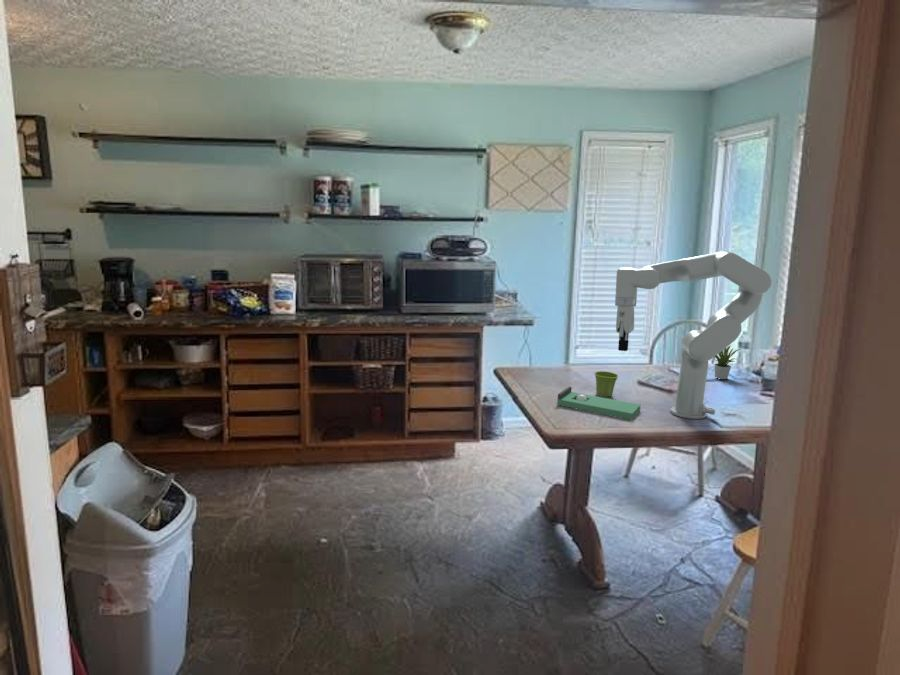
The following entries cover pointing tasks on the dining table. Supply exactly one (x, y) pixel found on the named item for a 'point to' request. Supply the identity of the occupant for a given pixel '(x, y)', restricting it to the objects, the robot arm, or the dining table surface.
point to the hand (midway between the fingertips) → (623, 350)
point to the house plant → (723, 363)
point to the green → (598, 404)
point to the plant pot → (605, 383)
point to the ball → (581, 398)
